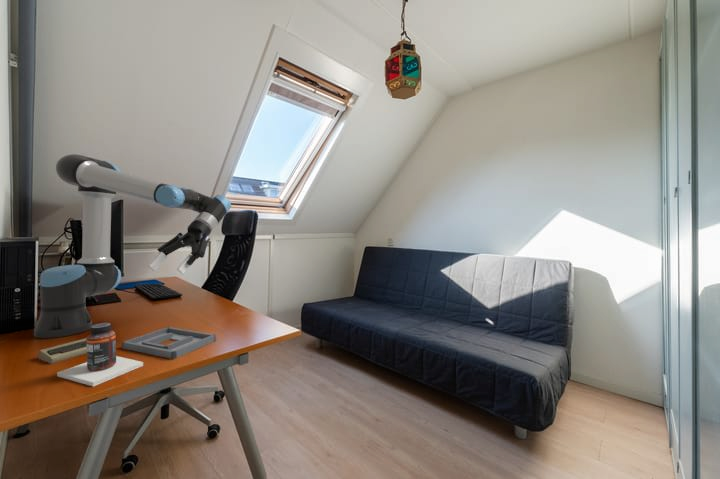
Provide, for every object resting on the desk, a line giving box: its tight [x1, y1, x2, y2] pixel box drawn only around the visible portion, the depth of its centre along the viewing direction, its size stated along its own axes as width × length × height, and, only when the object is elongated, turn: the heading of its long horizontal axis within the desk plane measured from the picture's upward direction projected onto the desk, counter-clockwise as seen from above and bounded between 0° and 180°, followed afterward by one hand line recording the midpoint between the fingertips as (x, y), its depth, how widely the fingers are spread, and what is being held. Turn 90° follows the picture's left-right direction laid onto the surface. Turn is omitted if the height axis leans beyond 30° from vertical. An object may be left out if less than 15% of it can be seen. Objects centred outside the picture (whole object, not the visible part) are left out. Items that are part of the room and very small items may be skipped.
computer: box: [37, 337, 87, 365], centre depth 93 cm, size 16×8×3 cm, turn 155°
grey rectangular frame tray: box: [121, 326, 217, 360], centre depth 100 cm, size 22×16×2 cm
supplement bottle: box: [86, 322, 117, 371], centre depth 81 cm, size 6×6×11 cm
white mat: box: [56, 355, 144, 387], centre depth 81 cm, size 14×12×1 cm
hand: (165, 270), depth 104 cm, fingers open, 13 cm apart
